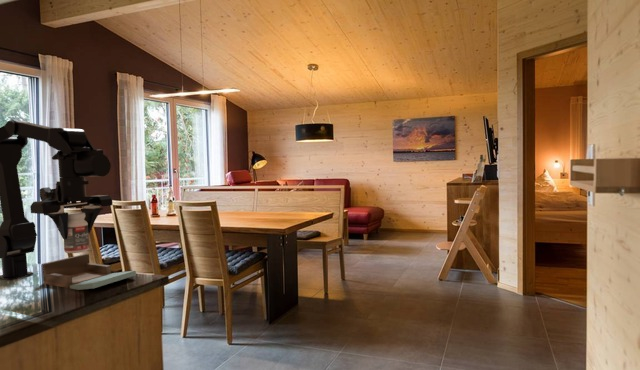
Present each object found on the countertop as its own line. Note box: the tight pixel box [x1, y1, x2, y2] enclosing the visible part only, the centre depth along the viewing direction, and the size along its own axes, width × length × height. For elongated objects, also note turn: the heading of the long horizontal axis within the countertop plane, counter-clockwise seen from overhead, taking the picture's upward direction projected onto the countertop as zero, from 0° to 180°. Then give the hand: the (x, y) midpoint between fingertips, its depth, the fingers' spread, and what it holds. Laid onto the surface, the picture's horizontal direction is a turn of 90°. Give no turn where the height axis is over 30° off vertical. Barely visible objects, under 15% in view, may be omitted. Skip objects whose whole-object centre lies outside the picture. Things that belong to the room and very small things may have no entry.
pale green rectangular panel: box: [69, 270, 137, 291], centre depth 108 cm, size 1×12×9 cm
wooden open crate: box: [41, 253, 112, 289], centre depth 113 cm, size 10×12×6 cm
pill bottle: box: [63, 211, 90, 254], centre depth 112 cm, size 6×6×10 cm
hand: (76, 236), depth 112 cm, fingers closed on pill bottle, 6 cm apart
